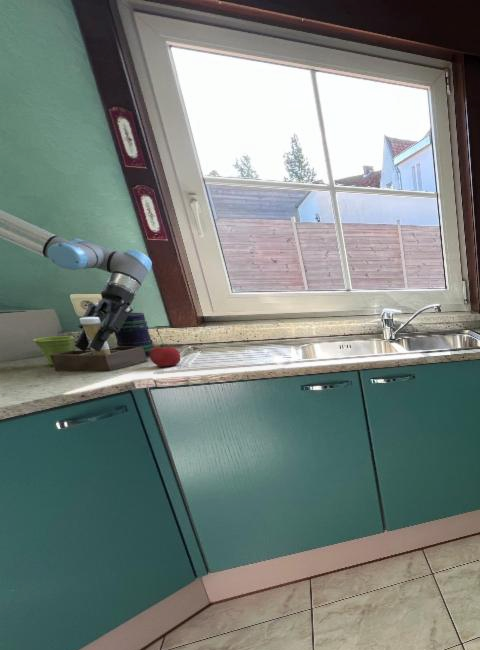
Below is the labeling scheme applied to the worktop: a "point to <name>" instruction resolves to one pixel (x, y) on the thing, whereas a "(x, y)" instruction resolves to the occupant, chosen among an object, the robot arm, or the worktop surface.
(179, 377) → the worktop surface
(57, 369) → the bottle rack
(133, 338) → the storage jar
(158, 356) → the tomato
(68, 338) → the plant pot
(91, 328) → the sprinkles bottle
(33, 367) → the worktop surface
